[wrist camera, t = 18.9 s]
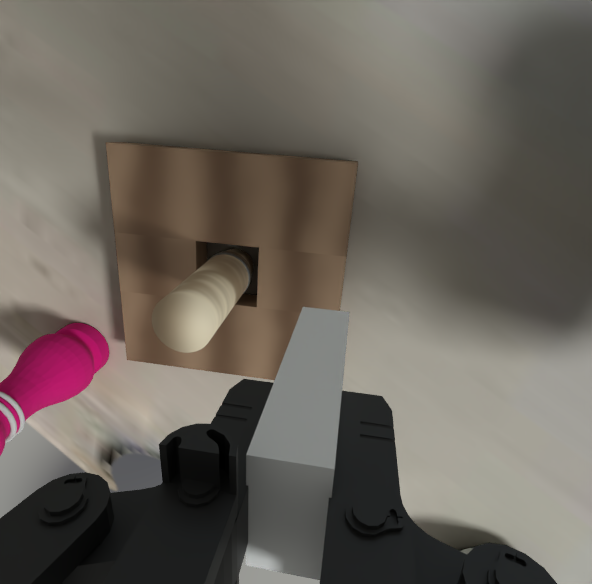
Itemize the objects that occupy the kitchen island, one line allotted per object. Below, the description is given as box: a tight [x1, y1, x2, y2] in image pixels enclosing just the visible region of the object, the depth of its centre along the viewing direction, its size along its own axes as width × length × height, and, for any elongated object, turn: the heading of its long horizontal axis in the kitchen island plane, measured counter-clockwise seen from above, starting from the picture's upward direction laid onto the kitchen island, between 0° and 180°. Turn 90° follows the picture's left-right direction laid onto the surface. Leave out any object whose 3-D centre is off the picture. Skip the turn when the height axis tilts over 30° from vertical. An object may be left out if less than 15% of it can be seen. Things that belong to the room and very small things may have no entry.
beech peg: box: [152, 248, 253, 353], centre depth 34 cm, size 4×4×14 cm
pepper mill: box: [0, 323, 109, 455], centre depth 37 cm, size 7×7×20 cm
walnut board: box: [106, 142, 358, 380], centre depth 39 cm, size 22×22×3 cm
